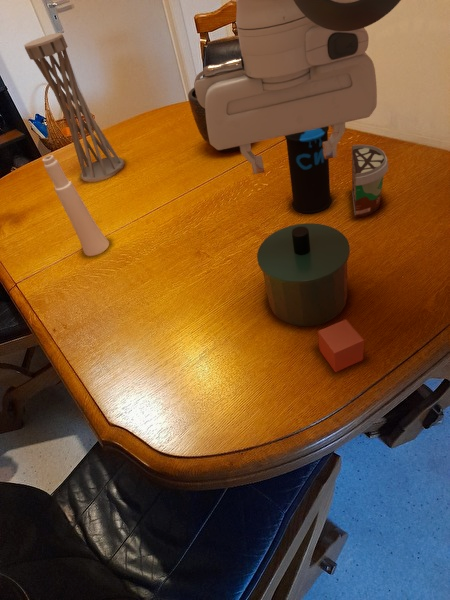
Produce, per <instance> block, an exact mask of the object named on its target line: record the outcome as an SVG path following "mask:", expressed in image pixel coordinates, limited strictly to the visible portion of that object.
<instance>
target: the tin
mask: <svg viewBox="0 0 450 600" xmlns="http://www.w3.org/2000/svg"><path fill="white" fill-rule="evenodd" d="M262 274H263V280H264V285H265V290H266V295H267V299H268V305H269V307H270V309H271V311H272V313H273V315H275V316H276V317H277V318H278V319H279V320H281V321H282V322H285V323H286V324H289V325H293V326H298V327H314V326H318V325H322V324H325V323H328V322H329V321H331V320H333V319H334V318H336V317H337V316H339V314H340V313H342V311H344V308H345V306H346V304H347V299H348V261H347V262H346V264H345V265H344V266H343V267H342V269H340V270H339V271H338V272H337V273H335V274H334V275H332V276H330V277H328V278H326V279H324V280H321V281H318V282H314V283H309V284H287V283H282V282H279V281H276V280H273V279H272V278H270V277H268V276H267V275H266V274H264V272H263V271H262Z"/></svg>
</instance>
